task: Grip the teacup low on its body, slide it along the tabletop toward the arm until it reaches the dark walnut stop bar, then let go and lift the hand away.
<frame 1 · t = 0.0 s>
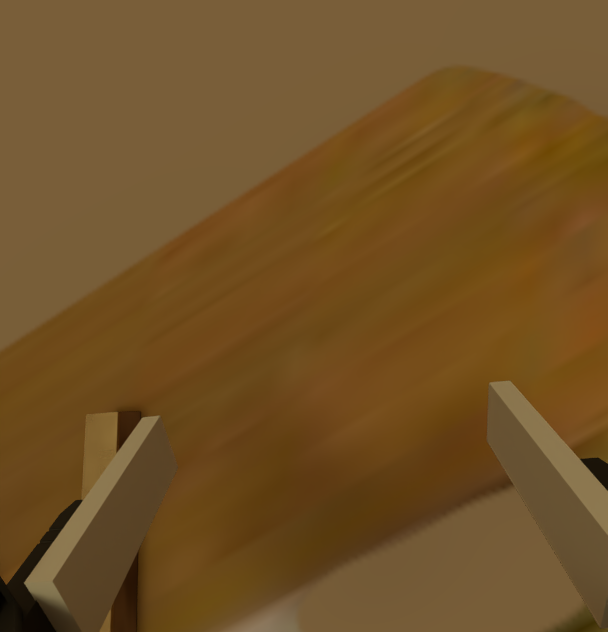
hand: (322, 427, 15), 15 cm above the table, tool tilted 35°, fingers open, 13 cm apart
stop bar: (122, 557, 29), on the table
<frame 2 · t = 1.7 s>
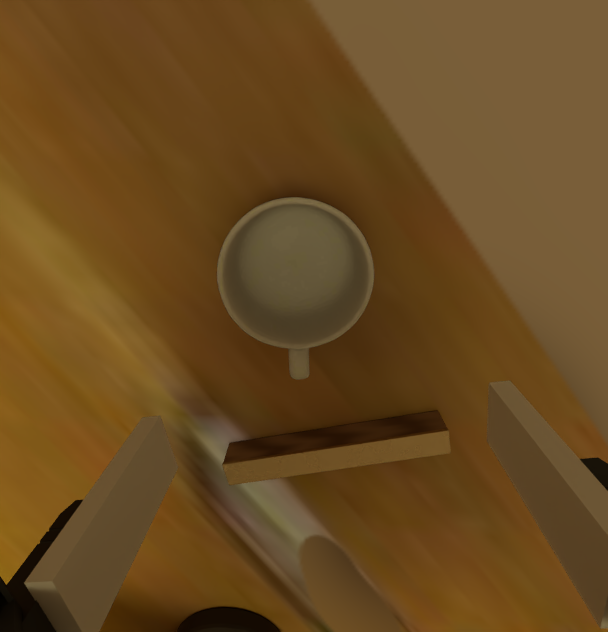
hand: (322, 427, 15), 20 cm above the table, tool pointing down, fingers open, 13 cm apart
teacup: (297, 274, 34), on the table
stop bar: (333, 437, 39), on the table
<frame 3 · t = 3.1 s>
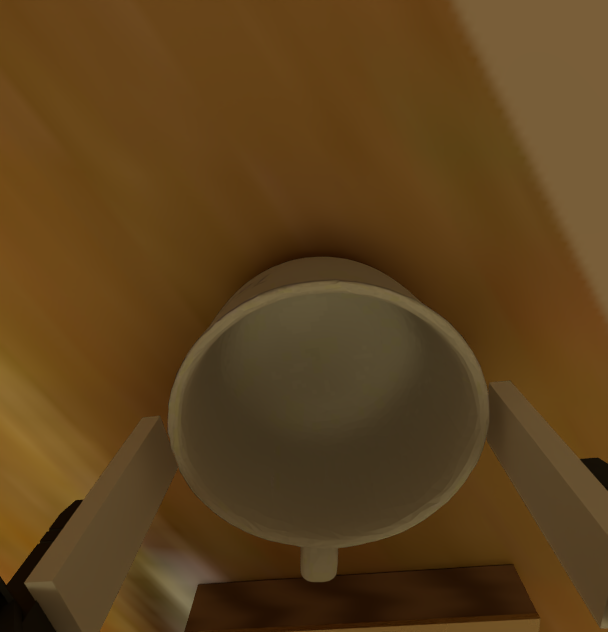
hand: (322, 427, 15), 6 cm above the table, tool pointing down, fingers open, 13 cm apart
teacup: (318, 364, 21), on the table
stop bar: (351, 587, 26), on the table
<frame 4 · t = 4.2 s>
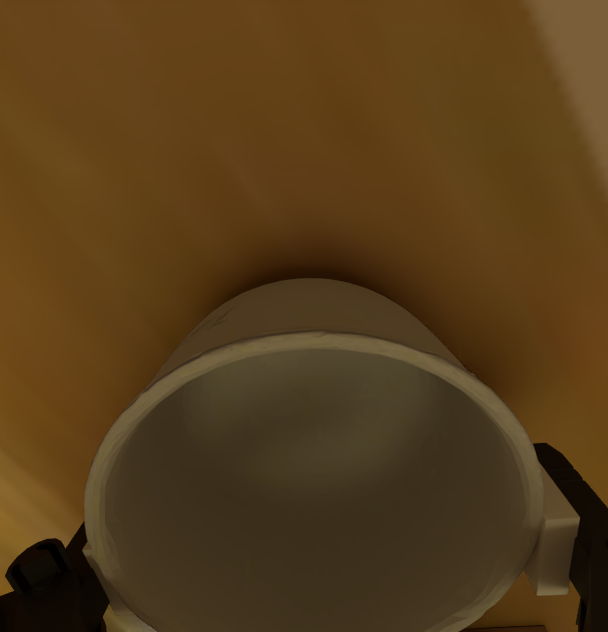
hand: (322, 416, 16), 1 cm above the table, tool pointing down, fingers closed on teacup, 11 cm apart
teacup: (309, 403, 17), on the table, touching gripper
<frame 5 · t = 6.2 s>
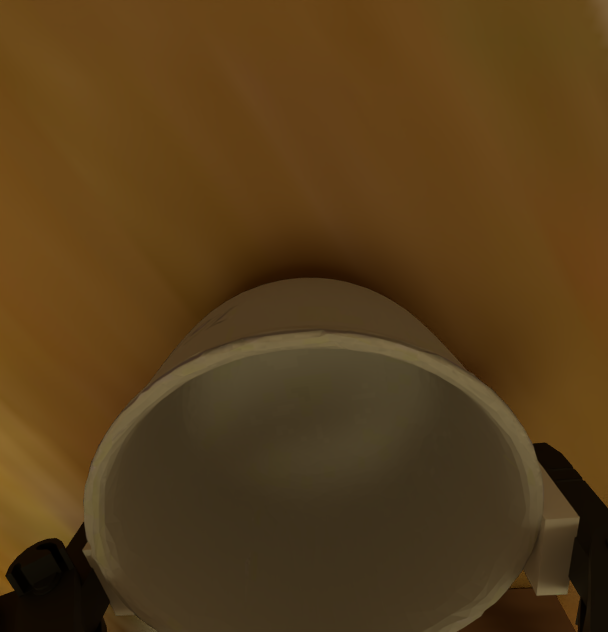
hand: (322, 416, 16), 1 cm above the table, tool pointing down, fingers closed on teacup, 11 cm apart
teacup: (308, 403, 17), on the table, touching gripper
stop bar: (356, 609, 22), on the table
when the fingers open (2 cm above the table, at t = 8.1 s): teacup stays where it is, on the table.
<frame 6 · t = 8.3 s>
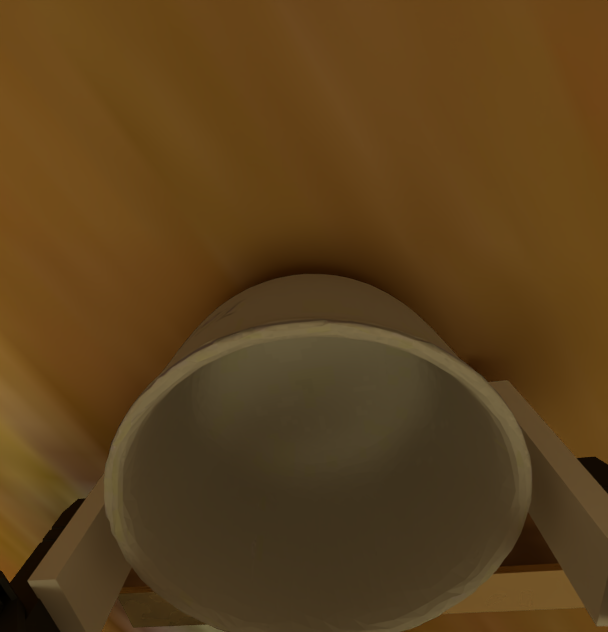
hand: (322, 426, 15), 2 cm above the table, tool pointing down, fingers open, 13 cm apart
teacup: (312, 395, 17), on the table
stop bar: (343, 535, 20), on the table
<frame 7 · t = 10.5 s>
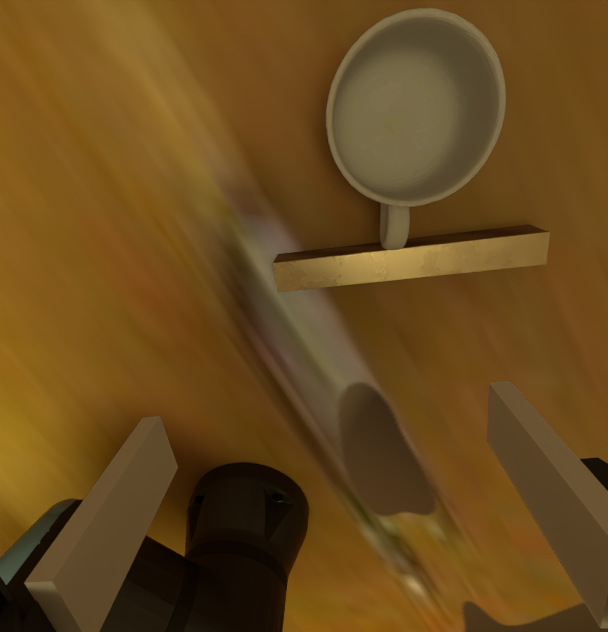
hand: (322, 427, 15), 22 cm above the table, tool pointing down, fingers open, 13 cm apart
teacup: (388, 146, 31), on the table
stop bar: (399, 253, 34), on the table
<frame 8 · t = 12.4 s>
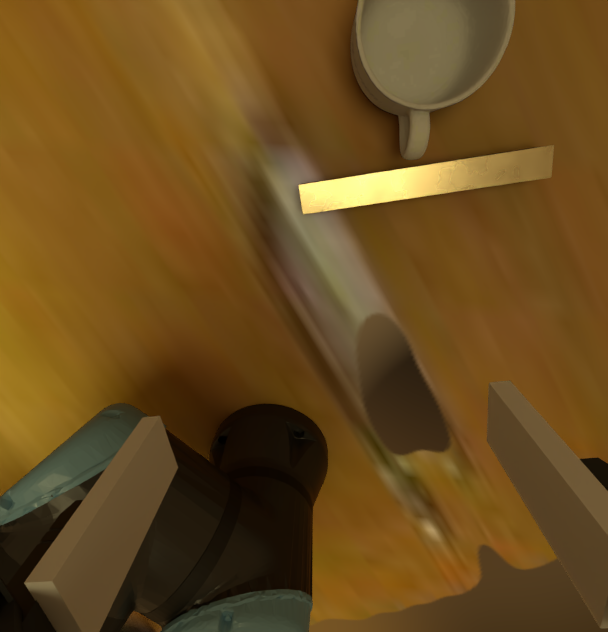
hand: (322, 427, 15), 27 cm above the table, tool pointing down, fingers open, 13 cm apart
teacup: (403, 75, 33), on the table
stop bar: (414, 180, 36), on the table
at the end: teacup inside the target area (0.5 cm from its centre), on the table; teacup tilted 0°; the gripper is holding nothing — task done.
